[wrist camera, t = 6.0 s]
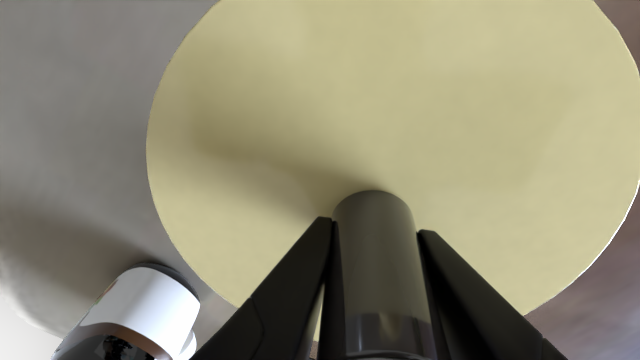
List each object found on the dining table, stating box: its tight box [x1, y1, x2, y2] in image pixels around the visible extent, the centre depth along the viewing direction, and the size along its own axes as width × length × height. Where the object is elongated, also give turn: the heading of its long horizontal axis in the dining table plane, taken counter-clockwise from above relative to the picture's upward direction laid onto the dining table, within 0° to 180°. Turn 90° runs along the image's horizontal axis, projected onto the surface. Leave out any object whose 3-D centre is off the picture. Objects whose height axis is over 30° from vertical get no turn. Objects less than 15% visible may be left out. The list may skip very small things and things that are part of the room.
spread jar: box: [51, 263, 200, 360], centre depth 27 cm, size 12×11×12 cm
